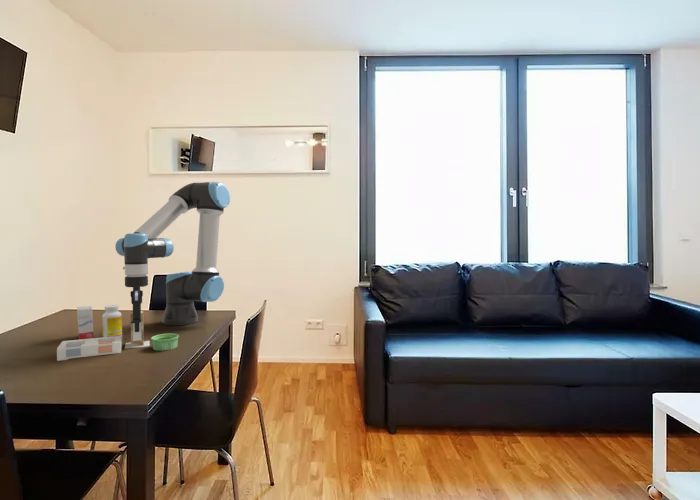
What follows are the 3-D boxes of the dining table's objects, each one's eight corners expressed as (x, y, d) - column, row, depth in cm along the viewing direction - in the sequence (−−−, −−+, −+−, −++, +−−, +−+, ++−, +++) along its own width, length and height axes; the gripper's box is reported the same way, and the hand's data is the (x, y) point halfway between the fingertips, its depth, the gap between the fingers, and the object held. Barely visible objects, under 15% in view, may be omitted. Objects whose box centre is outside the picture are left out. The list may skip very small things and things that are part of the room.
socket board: (122, 346, 150) (122, 334, 150) (120, 354, 141) (120, 341, 141) (62, 352, 142) (62, 340, 142) (57, 361, 133) (56, 347, 133)
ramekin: (151, 346, 151) (151, 334, 151) (178, 344, 154) (178, 332, 154) (150, 353, 142) (150, 340, 142) (178, 350, 146) (178, 338, 146)
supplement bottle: (126, 337, 163) (125, 305, 162) (111, 341, 157) (110, 308, 156) (113, 335, 165) (112, 304, 165) (98, 339, 159) (97, 306, 158)
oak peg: (143, 342, 154) (143, 310, 154) (143, 345, 151) (143, 312, 150) (131, 343, 152) (131, 311, 152) (131, 346, 149) (130, 313, 148)
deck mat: (149, 341, 157) (149, 340, 157) (149, 347, 150) (149, 345, 150) (125, 344, 153) (125, 343, 153) (124, 349, 146) (124, 348, 146)
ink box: (93, 338, 160) (92, 308, 160) (77, 340, 158) (77, 310, 157) (92, 334, 168) (92, 305, 167) (77, 335, 165) (77, 306, 164)
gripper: (125, 273, 157) (126, 333, 158) (123, 278, 140) (124, 345, 142) (147, 272, 160) (148, 331, 161) (147, 277, 144) (148, 343, 145)
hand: (137, 338), depth 151 cm, fingers open, 5 cm apart
